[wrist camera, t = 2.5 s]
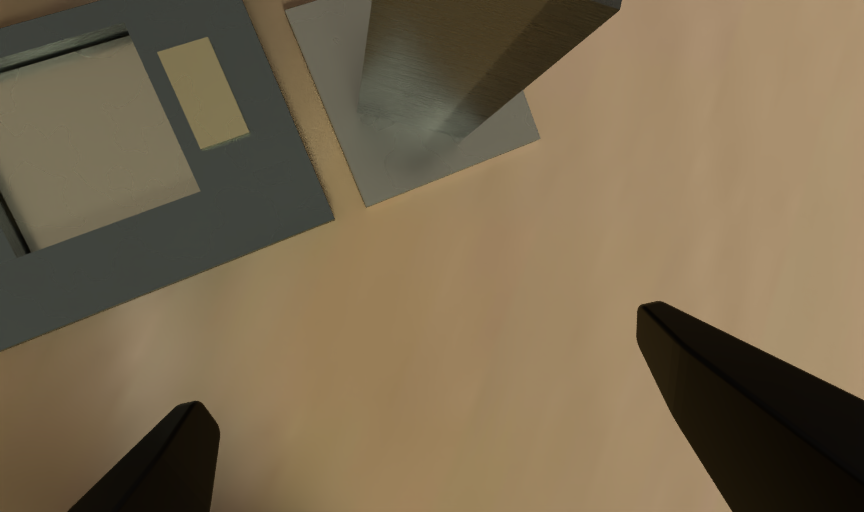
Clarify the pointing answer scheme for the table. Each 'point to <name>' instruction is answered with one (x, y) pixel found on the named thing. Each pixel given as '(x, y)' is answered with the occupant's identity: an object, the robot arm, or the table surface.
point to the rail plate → (138, 156)
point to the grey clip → (465, 55)
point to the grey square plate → (379, 138)
